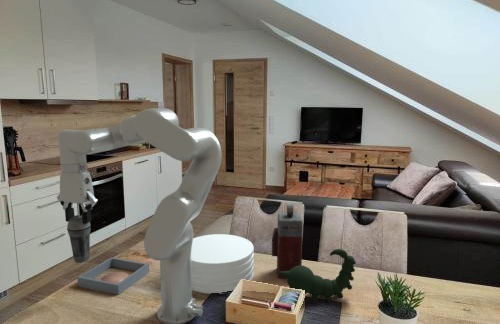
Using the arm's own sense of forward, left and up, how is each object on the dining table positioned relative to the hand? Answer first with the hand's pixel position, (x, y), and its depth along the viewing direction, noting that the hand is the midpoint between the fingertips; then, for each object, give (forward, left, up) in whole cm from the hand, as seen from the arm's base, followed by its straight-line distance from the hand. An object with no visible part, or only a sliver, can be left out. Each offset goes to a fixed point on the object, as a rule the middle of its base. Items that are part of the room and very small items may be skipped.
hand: (78, 221), depth 119 cm
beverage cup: (0, 0, -14) cm, 14 cm away
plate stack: (-36, -30, -28) cm, 55 cm away
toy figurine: (-75, -27, -28) cm, 84 cm away
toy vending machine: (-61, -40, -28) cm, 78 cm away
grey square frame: (-1, -14, -27) cm, 31 cm away
